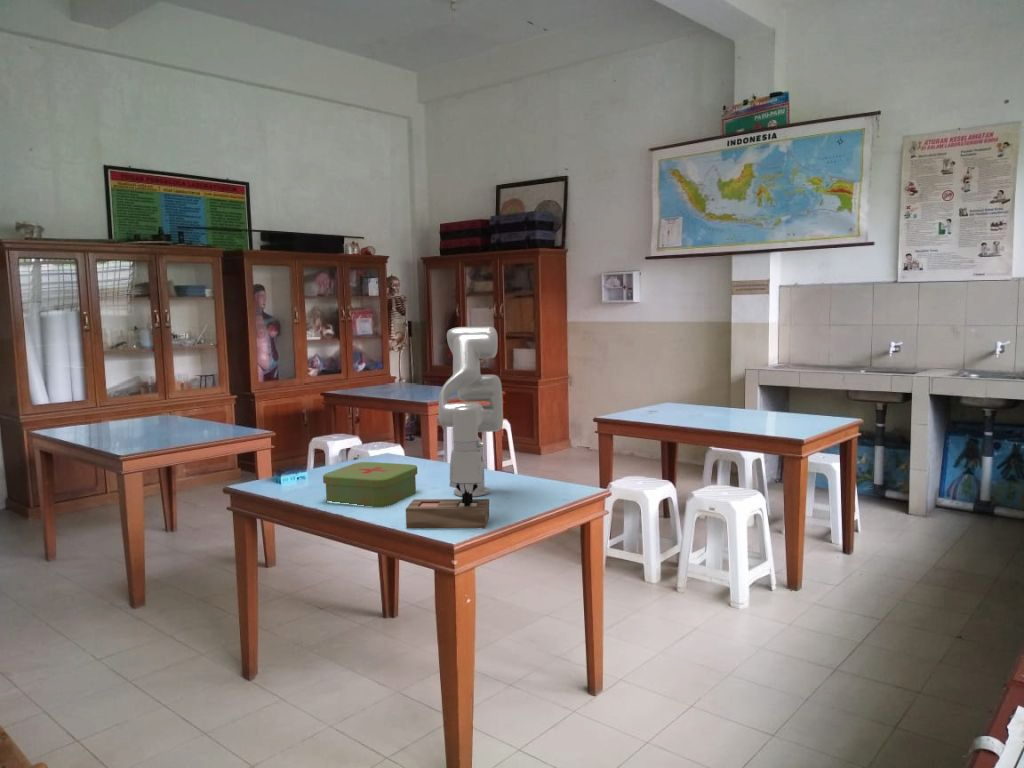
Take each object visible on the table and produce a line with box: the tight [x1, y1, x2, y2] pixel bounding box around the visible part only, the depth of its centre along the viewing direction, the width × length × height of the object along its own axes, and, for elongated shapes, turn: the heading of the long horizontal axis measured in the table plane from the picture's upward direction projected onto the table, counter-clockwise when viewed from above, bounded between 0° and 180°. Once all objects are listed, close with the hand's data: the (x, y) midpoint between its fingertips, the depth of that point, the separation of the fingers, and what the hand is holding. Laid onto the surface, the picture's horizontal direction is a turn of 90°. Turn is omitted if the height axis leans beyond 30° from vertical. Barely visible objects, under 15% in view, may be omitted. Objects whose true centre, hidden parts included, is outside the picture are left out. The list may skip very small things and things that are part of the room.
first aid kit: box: [322, 461, 418, 508], centre depth 270 cm, size 26×26×10 cm
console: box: [405, 498, 491, 530], centre depth 234 cm, size 12×24×6 cm, turn 86°
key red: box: [420, 503, 439, 507], centre depth 234 cm, size 5×5×4 cm
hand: (467, 505), depth 233 cm, fingers closed
